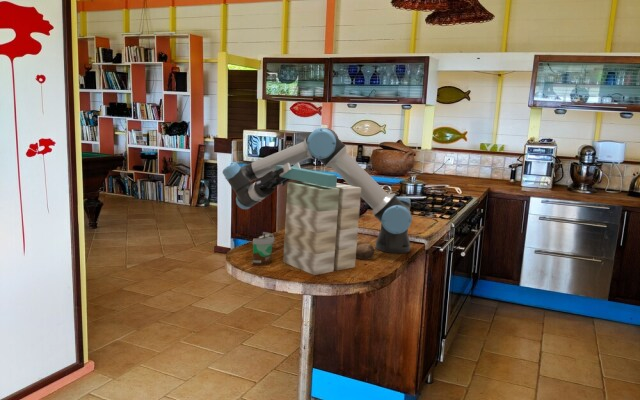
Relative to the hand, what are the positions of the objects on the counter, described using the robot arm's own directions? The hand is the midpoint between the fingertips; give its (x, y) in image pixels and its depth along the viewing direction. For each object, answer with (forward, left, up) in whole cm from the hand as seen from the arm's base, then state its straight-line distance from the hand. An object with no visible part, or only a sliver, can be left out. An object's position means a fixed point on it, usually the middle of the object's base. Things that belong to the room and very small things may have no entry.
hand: (294, 166), depth 187 cm
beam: (-4, +5, -5) cm, 8 cm away
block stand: (-12, +4, -36) cm, 38 cm away
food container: (+8, +7, -36) cm, 37 cm away
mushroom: (-29, -10, -36) cm, 47 cm away
